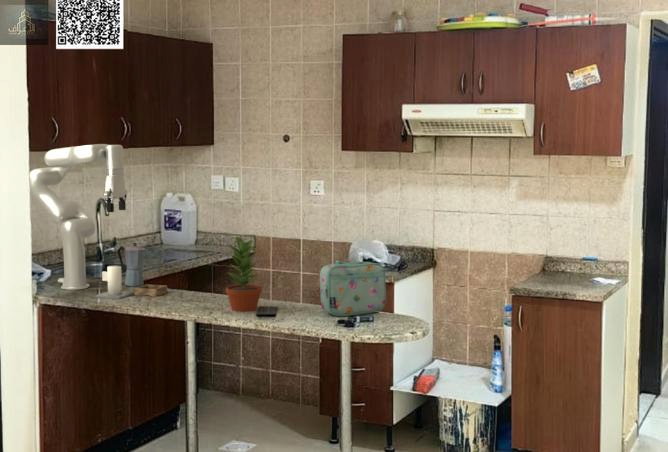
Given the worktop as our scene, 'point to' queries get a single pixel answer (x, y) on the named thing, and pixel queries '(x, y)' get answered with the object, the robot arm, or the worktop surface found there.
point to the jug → (113, 280)
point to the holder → (151, 290)
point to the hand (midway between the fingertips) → (116, 211)
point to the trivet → (105, 295)
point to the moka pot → (133, 264)
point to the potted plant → (243, 279)
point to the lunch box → (352, 288)
